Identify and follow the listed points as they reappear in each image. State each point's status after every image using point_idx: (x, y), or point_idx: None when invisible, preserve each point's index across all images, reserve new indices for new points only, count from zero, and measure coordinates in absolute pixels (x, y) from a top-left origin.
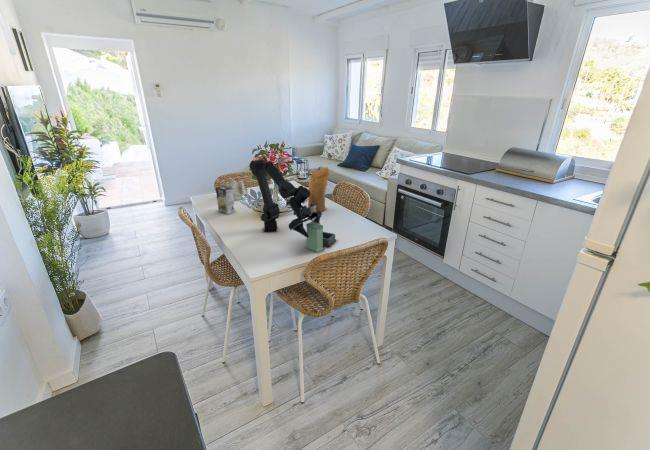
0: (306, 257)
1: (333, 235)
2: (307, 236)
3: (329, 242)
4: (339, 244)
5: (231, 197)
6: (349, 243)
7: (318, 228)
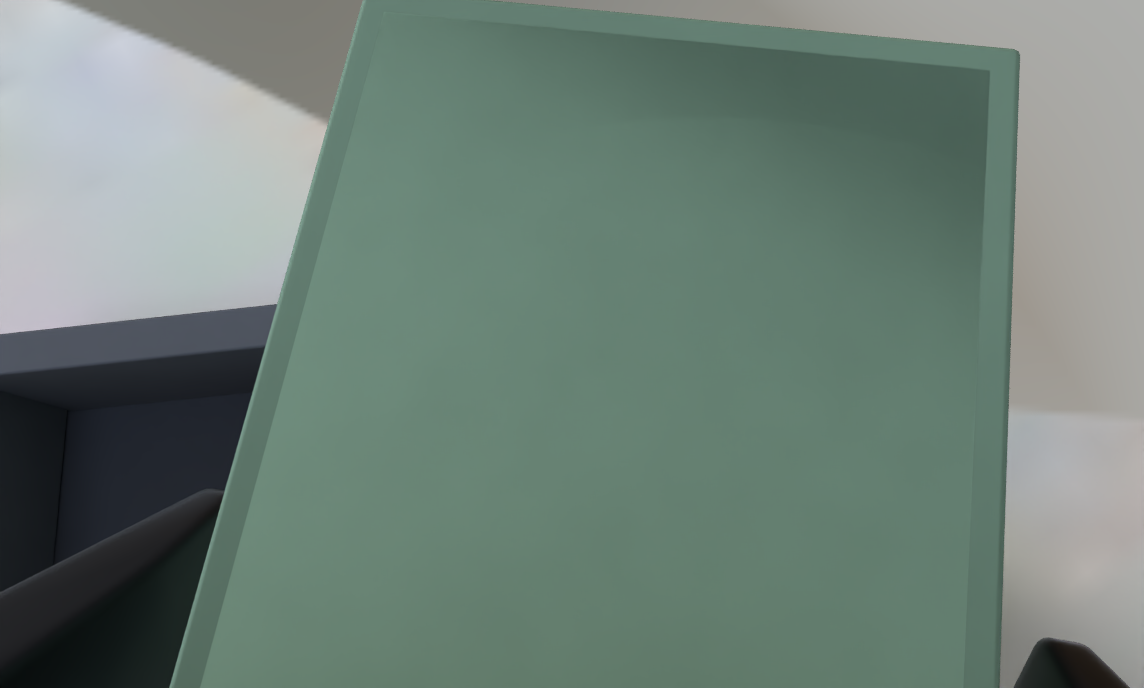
0: (1093, 501)
1: (18, 338)
2: (1102, 684)
3: None
4: (176, 237)
5: None
6: (55, 107)
7: (852, 79)
